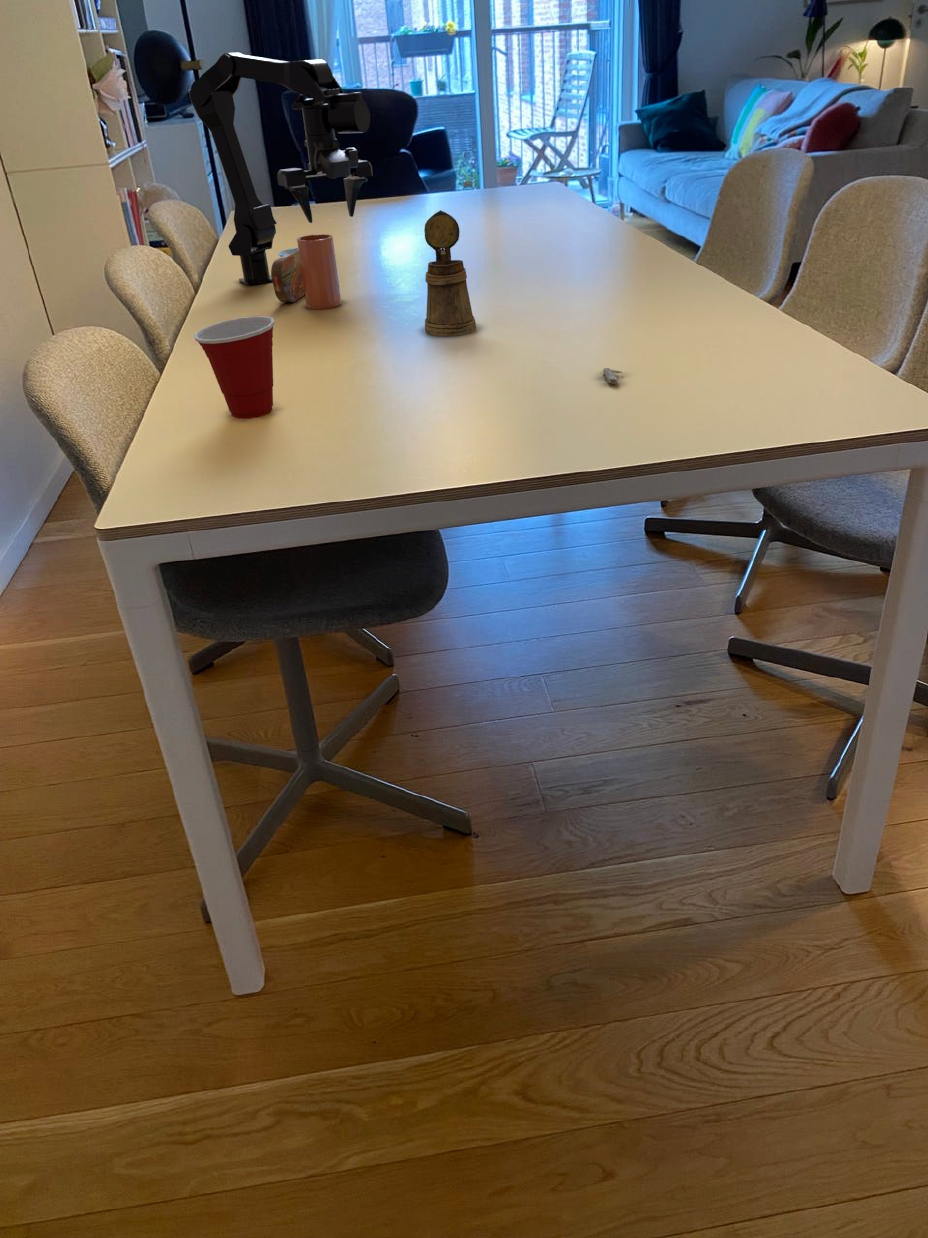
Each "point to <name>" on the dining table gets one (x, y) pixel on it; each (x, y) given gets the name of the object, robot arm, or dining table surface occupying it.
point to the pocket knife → (610, 375)
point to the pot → (319, 271)
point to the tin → (288, 277)
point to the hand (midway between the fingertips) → (331, 219)
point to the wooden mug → (446, 281)
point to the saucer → (287, 251)
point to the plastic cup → (242, 363)
